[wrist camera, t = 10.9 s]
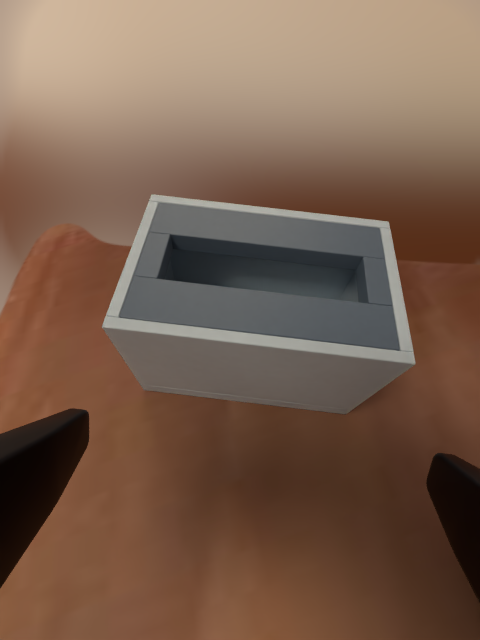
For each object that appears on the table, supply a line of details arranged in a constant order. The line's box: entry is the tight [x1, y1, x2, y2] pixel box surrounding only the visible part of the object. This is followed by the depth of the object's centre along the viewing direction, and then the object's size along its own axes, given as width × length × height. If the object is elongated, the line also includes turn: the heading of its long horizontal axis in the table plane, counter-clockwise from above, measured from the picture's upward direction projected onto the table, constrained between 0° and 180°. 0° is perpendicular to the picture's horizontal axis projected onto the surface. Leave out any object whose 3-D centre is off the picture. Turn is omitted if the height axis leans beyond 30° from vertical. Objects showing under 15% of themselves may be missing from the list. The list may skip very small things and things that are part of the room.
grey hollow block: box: [102, 195, 415, 414], centre depth 20 cm, size 9×14×9 cm
